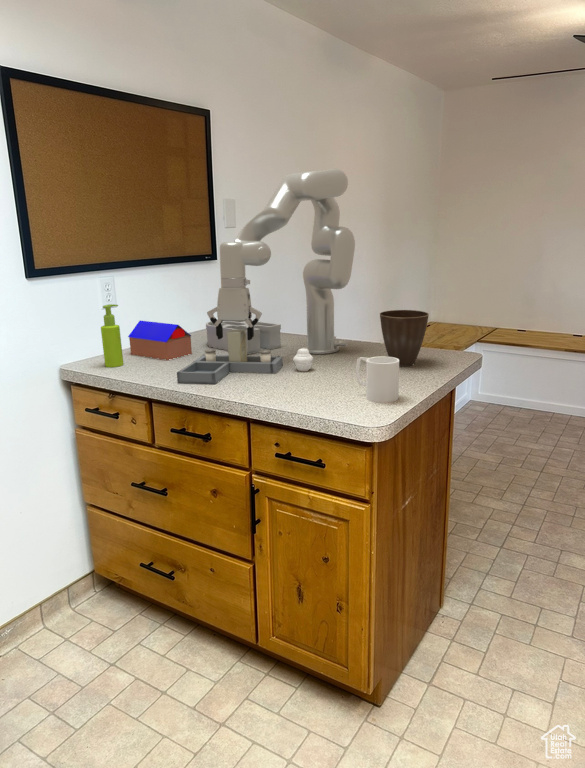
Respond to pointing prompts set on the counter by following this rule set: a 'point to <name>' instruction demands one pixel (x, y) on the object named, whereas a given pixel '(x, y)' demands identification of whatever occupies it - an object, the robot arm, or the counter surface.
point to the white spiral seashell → (303, 359)
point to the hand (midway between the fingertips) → (235, 339)
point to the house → (159, 340)
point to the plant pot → (403, 334)
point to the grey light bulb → (210, 354)
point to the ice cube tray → (263, 335)
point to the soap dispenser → (111, 340)
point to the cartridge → (265, 355)
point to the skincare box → (237, 345)
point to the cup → (380, 378)
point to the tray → (203, 372)
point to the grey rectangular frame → (249, 364)
